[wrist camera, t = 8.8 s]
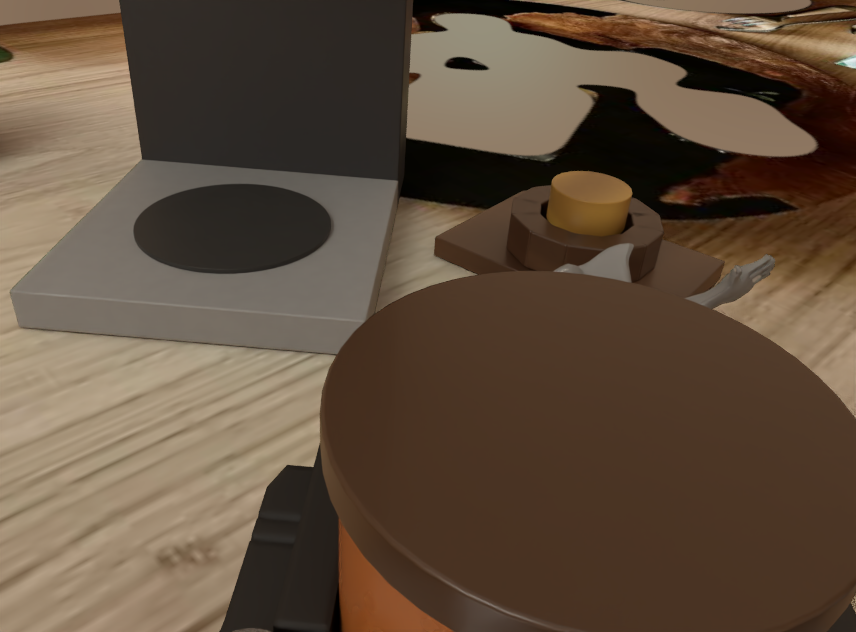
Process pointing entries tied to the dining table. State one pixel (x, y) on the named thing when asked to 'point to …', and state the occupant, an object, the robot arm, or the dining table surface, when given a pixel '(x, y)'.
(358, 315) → the dark brown rectangular box
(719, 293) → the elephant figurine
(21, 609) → the dining table surface
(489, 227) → the control block
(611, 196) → the button
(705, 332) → the orange lidded canister
